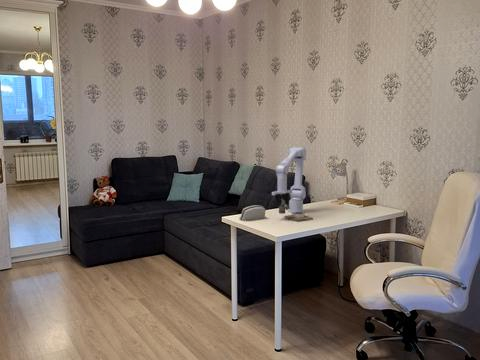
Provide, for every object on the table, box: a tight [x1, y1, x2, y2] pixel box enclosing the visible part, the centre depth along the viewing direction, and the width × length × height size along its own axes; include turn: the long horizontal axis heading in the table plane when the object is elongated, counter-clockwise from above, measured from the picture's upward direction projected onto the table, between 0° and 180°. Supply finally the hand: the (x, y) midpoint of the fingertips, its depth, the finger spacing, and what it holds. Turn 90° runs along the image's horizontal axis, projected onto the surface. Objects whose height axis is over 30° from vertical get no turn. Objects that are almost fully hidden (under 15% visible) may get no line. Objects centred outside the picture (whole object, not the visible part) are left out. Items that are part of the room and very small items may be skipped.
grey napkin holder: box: [239, 204, 266, 222], centre depth 270 cm, size 17×5×10 cm, turn 119°
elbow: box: [278, 198, 290, 215], centre depth 266 cm, size 8×4×8 cm, turn 31°
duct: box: [283, 212, 314, 223], centre depth 270 cm, size 14×12×4 cm
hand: (282, 205), depth 268 cm, fingers closed on elbow, 4 cm apart
